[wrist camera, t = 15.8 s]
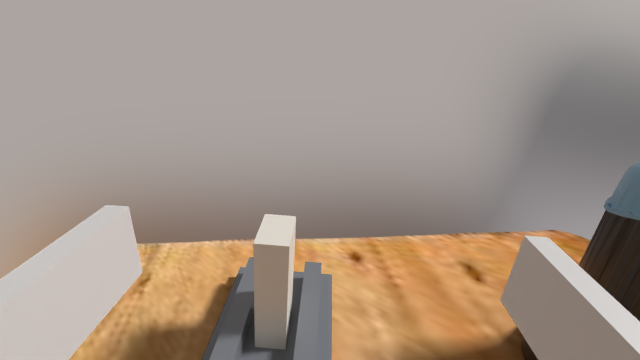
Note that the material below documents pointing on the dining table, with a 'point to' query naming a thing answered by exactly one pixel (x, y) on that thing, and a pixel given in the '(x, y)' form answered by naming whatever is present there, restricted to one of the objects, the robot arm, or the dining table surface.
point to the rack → (304, 329)
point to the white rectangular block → (273, 280)
